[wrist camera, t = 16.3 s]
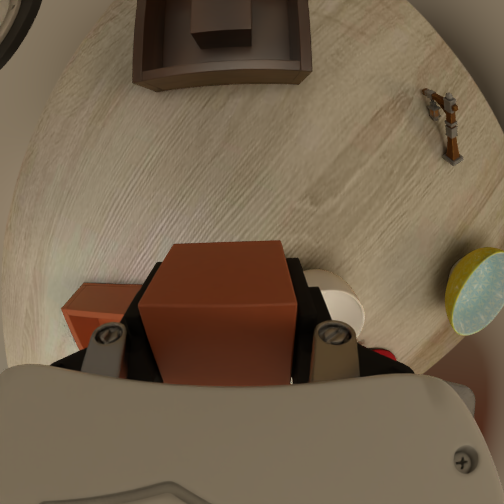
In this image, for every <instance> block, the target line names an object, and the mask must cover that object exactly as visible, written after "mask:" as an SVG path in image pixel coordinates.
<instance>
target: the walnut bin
mask: <svg viewBox="0 0 504 504" xmlns="http://www.w3.org/2000/svg"><path fill="white" fill-rule="evenodd" d="M251 15H252V46H239V47H221V48H208V49H200V48H199V46H198V45H197V43H196V42H195V40H194V38H193V37H192V35H191V34H190V19H191V0H137V9H136V18H135V30H134V45H133V73H132V83H134V84H136V85H139V86H142V87H145V88H147V89H150V90H153V91H155V92H161V91H168V90H175V89H183V88H191V87H201V86H213V85H229V84H296V85H299V84H300V83H301V82H302V81H303V80H304V79H305V78H306V77H307V76H308V75H309V74H310V73H311V72H312V51H311V34H310V20H309V8H308V0H251Z"/></svg>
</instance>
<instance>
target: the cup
mask: <svg viewBox="0 0 504 504" xmlns="http://www.w3.org/2000/svg"><path fill="white" fill-rule="evenodd" d="M303 272H304V275H305V278H306V281H307V284H308V287H317V286H318V287H319V288H320V291H321V293H322V296H323V298H324V301H325V303H326V306H327V308H328V311H329V313H330V316H331V318H332V320H336V321H342V322H344V323H347V324H348V325H350V326H351V327H352V328H353V329H354V330H355V333H356V338H357V337H358V335H359V334H360V332H361V330H362V328H363V325H364V320H365V313H364V309H363V306H362V304H361V302H360V301H359V299H358V297H357V295H356V294H355V292H354V291H353V289H352V288H351V287H350V286H349V285H348V283H347V282H346V281H344V280H343V279H342V278H341V277H339V276H338V275H336V274H334V273H332V272H329V271H326V270H322V269H308V270H305V271H303Z"/></svg>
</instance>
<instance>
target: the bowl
mask: <svg viewBox="0 0 504 504" xmlns="http://www.w3.org/2000/svg"><path fill="white" fill-rule="evenodd" d="M503 305H504V251H503V250H500V249H497V248H492V247H484V248H479V249H476V250H474V251H472V252H470V253H468V254H467V255H466V256H465V257H463V258H461V259H459V260H458V261H457V262H456V263H455V264H454V265H453V267H452V269H451V271H450V274H449V280H448V283H447V287H446V292H445V308H446V313H447V316H448V319H449V321H450V324H451V326H452V328H453V329H454V331H455V332H456V333H458V334H459V335H464V336H466V335H471V334H474V333H477V332H478V331H480V330H481V329H483V328H484V327H486V326H487V325H488V324H489V323H490V322H491V321H492V320H493V319H494V318H495V317H496V315H497V314H498V313H499V312H500V310H501V308H502V307H503Z"/></svg>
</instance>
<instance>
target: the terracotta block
mask: <svg viewBox="0 0 504 504" xmlns="http://www.w3.org/2000/svg"><path fill="white" fill-rule="evenodd" d="M138 308H139V312H140V315H141V318H142V322H143V325H144V328H145V331H146V334H147V337H148V340H149V343H150V346H151V349H152V352H153V355H154V358H155V360H156V363H157V366H158V368H159V371H160V374H161V376H162V379H163V381H164V383H168V384H181V385H200V386H270V385H289V384H290V381H291V372H292V362H293V351H294V340H295V328H296V316H297V300H296V296H295V292H294V289H293V285H292V281H291V277H290V273H289V269H288V266H287V262H286V258H285V254H284V251H283V247H282V243H281V241H280V240H274V241H242V242H212V243H185V244H173V246H172V247H171V249H170V251H169V252H168V254H167V255H166V257H165V259H164V260H163V262H162V264H161V265H160V267H159V269H158V270H157V272H156V274H155V275H154V277H153V279H152V281H151V282H150V284H149V286H148V287H147V289H146V291H145V293H144V294H143V296H142V298H141V300H140V301H139V303H138Z"/></svg>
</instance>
